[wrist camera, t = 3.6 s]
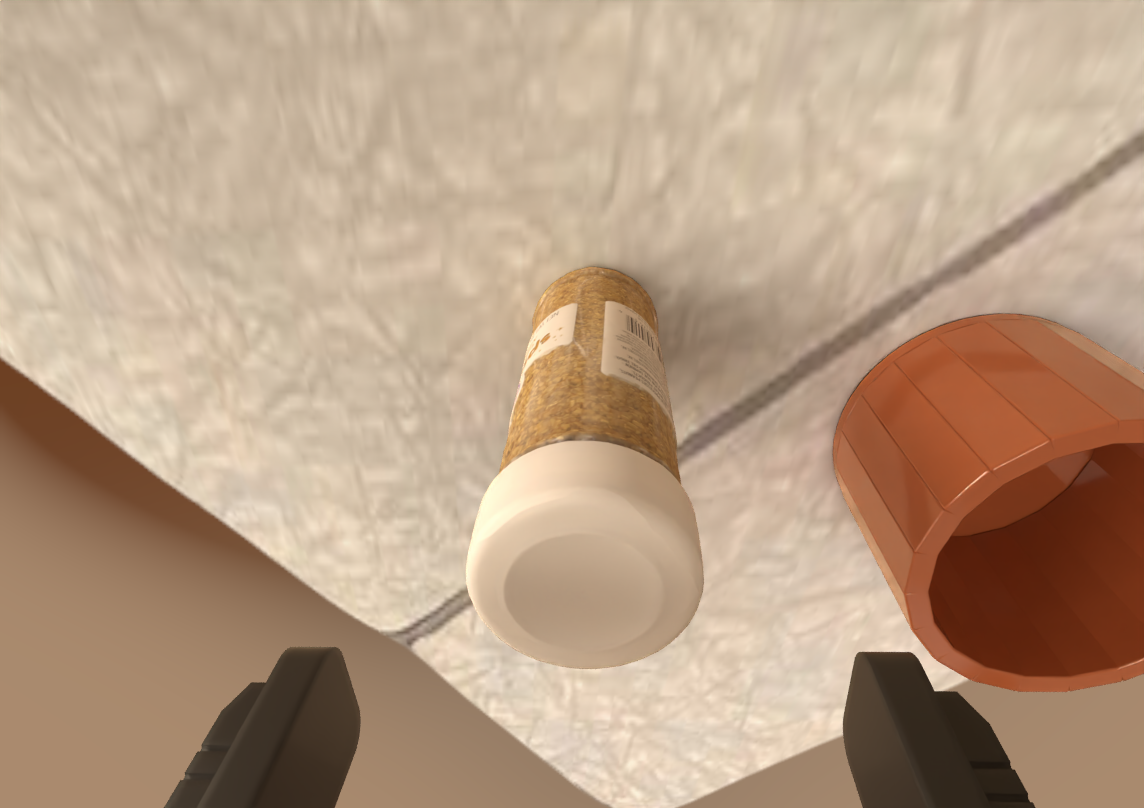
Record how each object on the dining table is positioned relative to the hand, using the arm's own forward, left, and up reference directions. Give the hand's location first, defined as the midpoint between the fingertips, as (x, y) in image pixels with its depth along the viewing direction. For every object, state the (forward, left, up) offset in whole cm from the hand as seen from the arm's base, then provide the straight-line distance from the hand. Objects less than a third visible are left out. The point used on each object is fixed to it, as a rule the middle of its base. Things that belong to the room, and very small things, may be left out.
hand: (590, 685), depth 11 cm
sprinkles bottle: (0, 0, -16) cm, 16 cm away
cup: (+14, -5, -16) cm, 21 cm away
